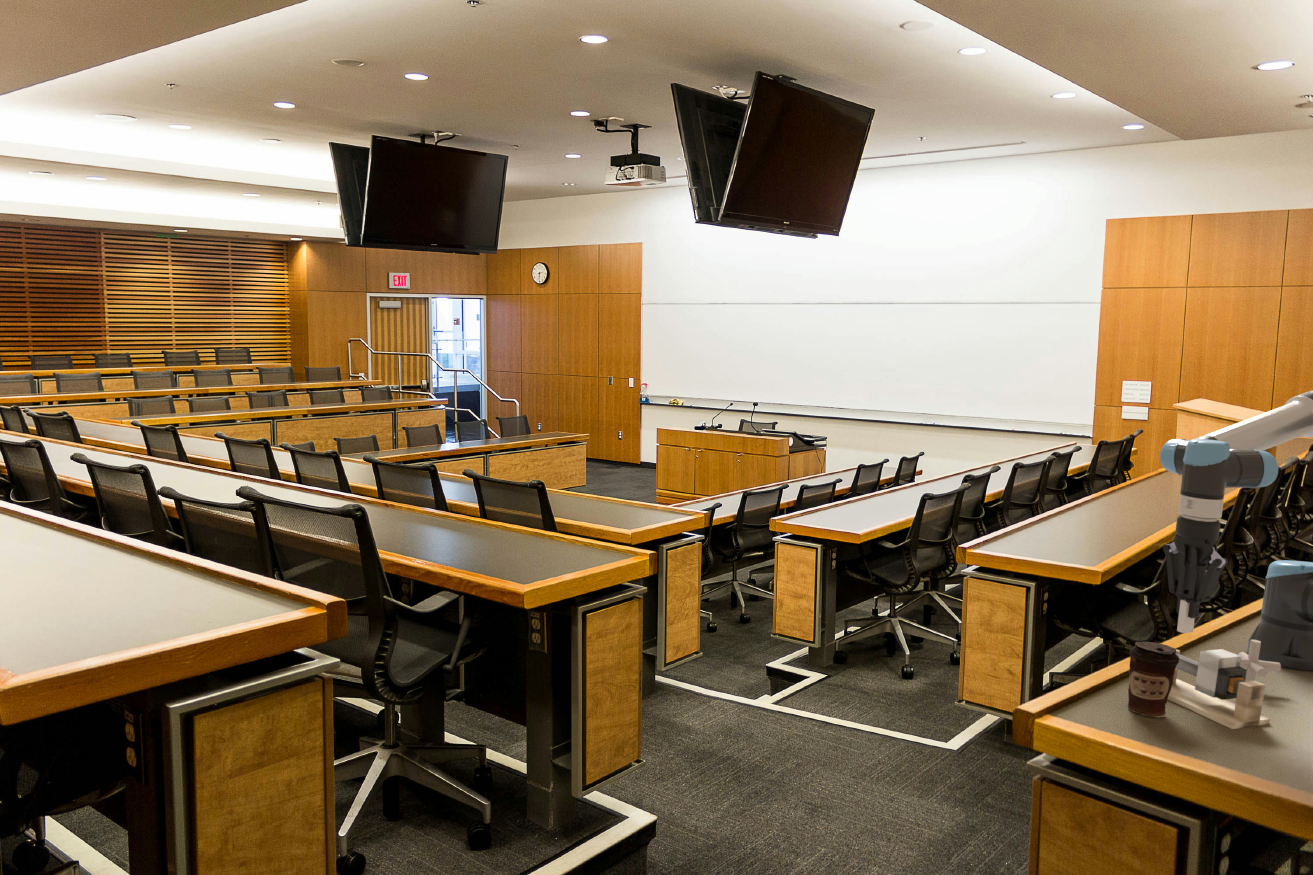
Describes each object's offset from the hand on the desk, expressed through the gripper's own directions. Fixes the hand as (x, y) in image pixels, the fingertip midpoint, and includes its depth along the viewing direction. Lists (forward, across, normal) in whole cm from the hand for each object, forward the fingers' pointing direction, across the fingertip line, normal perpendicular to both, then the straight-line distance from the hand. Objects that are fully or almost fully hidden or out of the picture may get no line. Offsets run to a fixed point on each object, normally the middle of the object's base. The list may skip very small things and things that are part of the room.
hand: (1184, 631), depth 187 cm
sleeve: (+9, +9, -1) cm, 13 cm away
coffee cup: (+13, +6, -16) cm, 21 cm away
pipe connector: (+14, +1, +19) cm, 23 cm away
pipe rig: (+13, +6, -1) cm, 14 cm away
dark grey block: (+9, +11, -1) cm, 15 cm away
